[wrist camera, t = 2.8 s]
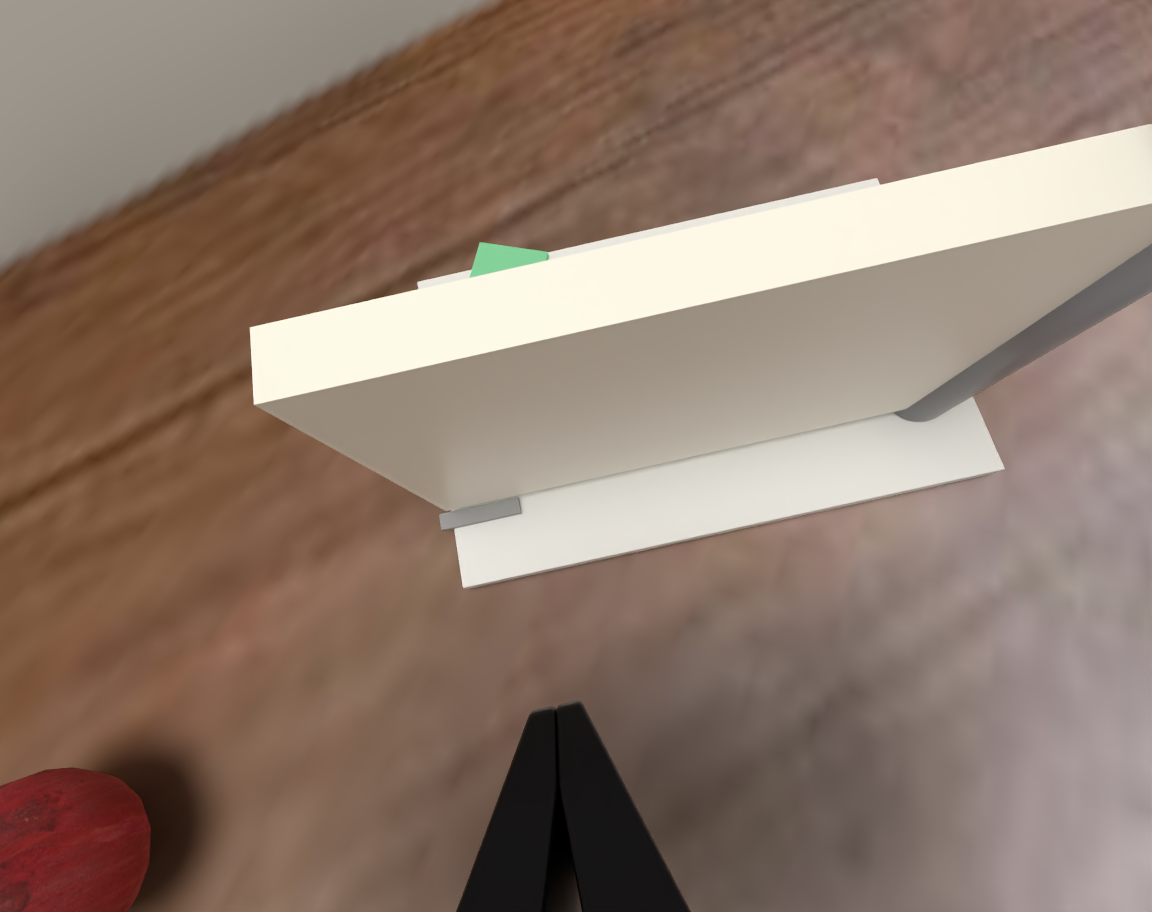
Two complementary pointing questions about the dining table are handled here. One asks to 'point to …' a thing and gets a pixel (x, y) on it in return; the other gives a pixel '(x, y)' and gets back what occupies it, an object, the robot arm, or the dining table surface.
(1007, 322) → the hinged door panel
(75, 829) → the onion
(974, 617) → the dining table surface
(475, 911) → the robot arm
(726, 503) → the white base board
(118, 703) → the dining table surface
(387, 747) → the dining table surface
